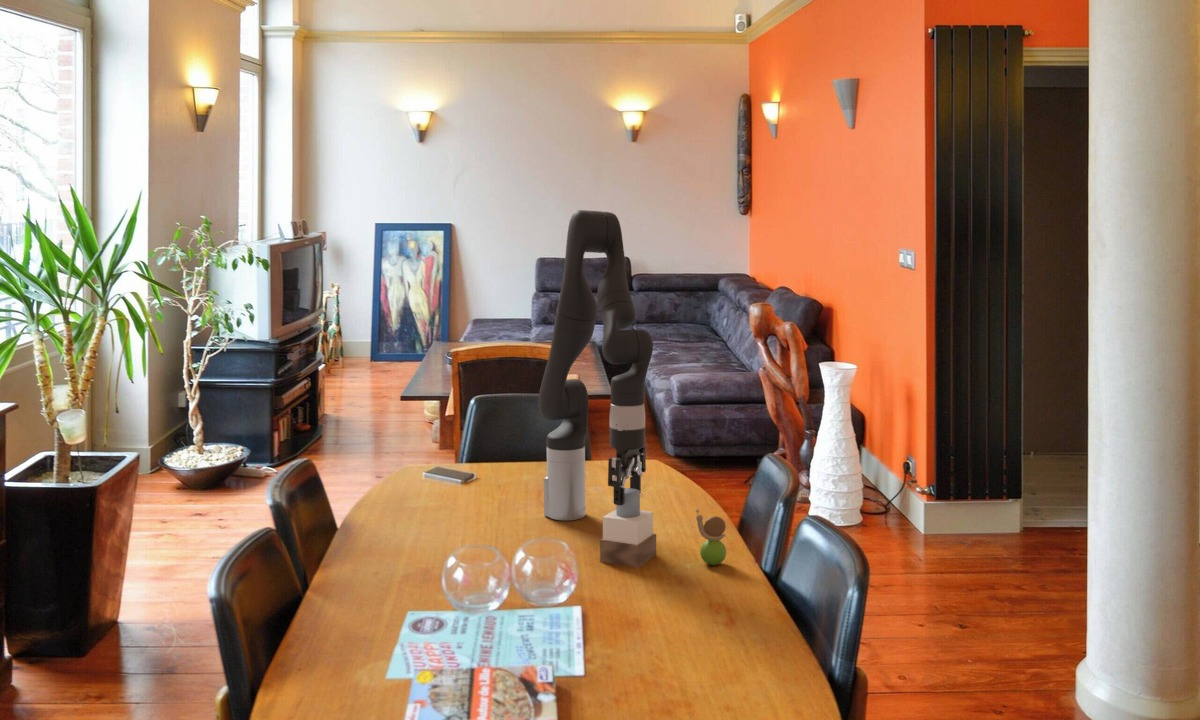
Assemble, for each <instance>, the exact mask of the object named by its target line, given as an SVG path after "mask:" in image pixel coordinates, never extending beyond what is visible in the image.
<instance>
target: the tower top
mask: <svg viewBox="0 0 1200 720" xmlns="http://www.w3.org/2000/svg"><path fill="white" fill-rule="evenodd" d="M653 533H654V512H653V511H651V510H650V511H649V510H643V509H640V515H639V516H637V517H633V518H624V517H619V516H617V515H616V508H614V510H612V511H610V512H609V513H607V514H605V515H604V516H602V538H603V540H607V541H614V542H620V543H627V544H633V545H638V544H640V543H641V542H643V541H644V540H645V539H647V538H648V537H650V536H651V535H653Z"/></svg>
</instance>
